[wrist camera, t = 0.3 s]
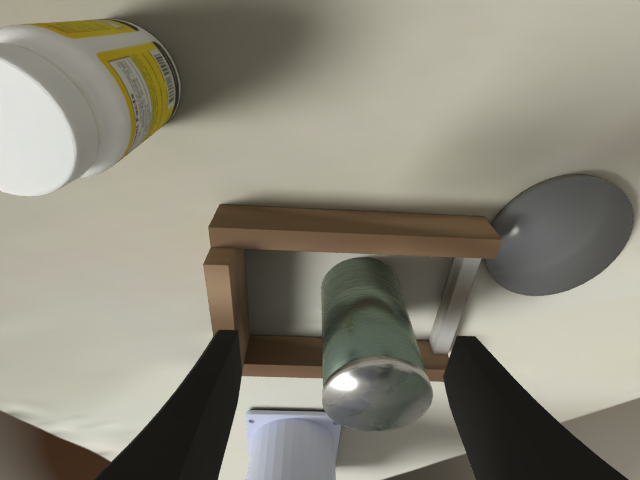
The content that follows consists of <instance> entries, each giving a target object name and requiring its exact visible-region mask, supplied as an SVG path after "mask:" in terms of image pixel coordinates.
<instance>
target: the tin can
mask: <svg viewBox="0 0 640 480" xmlns="http://www.w3.org/2000/svg"><path fill="white" fill-rule="evenodd" d="M321 300H322V350H323V391H322V404H323V408H324V410H325V412H326V414H327V415H328V416H329V417H330V418H331V419H332V420H333V421H334V422H336V423H338V424H339V425H341V426H344V427H346V428H349V429H353V430H357V431H364V432H380V431H388V430H393V429H397V428H400V427H403V426H405V425H408V424H410V423H412V422H413V421H415V420H417V419H418V418H419V417H421V416H422V415H423V414H424V413H425V412H426V411H427V409H428V408H429V406H430V404H431V402H432V398H433V391H432V387H431V384H430V381H429V378H428V376H427V374H426V371H425V368H424V364H423V361H422V358H421V355H420V351H419V348H418V345H417V341H416V338H415V335H414V332H413V328H412V325H411V322H410V318H409V315H408V312H407V308H406V305H405V302H404V299H403V295H402V292H401V289H400V285H399V282H398V279H397V276H396V274H395V273H394V271H393V270H392V269H391V268H390V267H389V266H388V265H386V264H385V263H383V262H381V261H379V260H376V259H372V258H353V259H349V260H346V261H343V262H341V263H339V264H337V265H336V266H334V267H333V268H332V269H331V270H330V271H329V272H328V273H327V274H326V276H325V277H324V279H323V282H322V287H321Z"/></svg>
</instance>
